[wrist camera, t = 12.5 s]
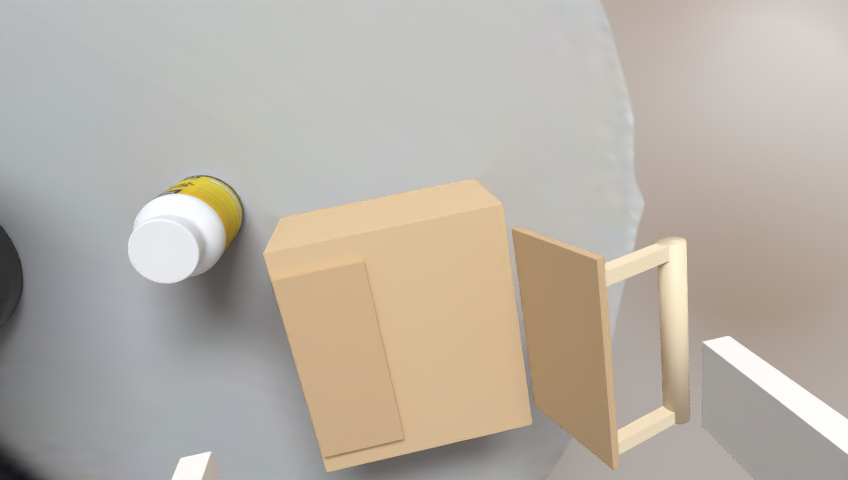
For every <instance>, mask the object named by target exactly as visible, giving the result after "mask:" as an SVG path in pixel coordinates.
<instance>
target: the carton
mask: <svg viewBox="0 0 848 480" xmlns="http://www.w3.org/2000/svg"><path fill="white" fill-rule="evenodd" d="M263 255H264V258H265V262H266V265H267V269H268V272H269V276H270V279H271V282H272V286H273V289H274V293H275V296H276V300H277V303H278V307H279V310H280V313H281V317H282V320H283V324H284V327H285V331H286V334H287V337H288V341H289V344H290V348H291V351H292V355H293V358H294V362H295V365H296V368H297V372H298V375H299V379H300V382H301V386H302V389H303V392H304V396H305V399H306V403H307V406H308V410H309V413H310V417H311V420H312V423H313V427H314V430H315V434H316V437H317V441H318V444H319V447H320V451H321V454H322V458H323V461H324V465H325V468H326V472H331V471H335V470H339V469H344V468H348V467H352V466H356V465H361V464H365V463H369V462H374V461H378V460H382V459H386V458H391V457H395V456H399V455H404V454H408V453H412V452H416V451H421V450H425V449H429V448H434V447H438V446H442V445H446V444H451V443H455V442H459V441H464V440H468V439H472V438H476V437H481V436H485V435H489V434H494V433H498V432H502V431H506V430H511V429H515V428H519V427H524V426H528V425H532V417H531V410H530V403H529V395H528V388H527V380H526V373H525V365H524V358H523V350H522V343H521V336H520V328H519V321H518V313H517V306H516V298H515V291H514V283H513V276H512V268H511V261H510V254H509V246H508V239H507V231H506V224H505V216H504V209H503V204H502V203H501V202H500V201H499V200H498V199H497V198H496V197H495V196H493V195H492V194H491V193H490V192H489V191H488V190H487V189H486V188H485V187H484V186H482V185H481V184H480V183H479V182H478V181H477V180H476V179H475V178H474V179H469V180H464V181H459V182H454V183H449V184H444V185H439V186H434V187H429V188H424V189H419V190H414V191H410V192H405V193H400V194H395V195H390V196H385V197H380V198H375V199H370V200H365V201H360V202H355V203H350V204H345V205H340V206H336V207H331V208H326V209H321V210H316V211H311V212H306V213H301V214H296V215H291V216H286V217H281V218H280V220H279V222H278V224H277V226H276V228H275V230H274V232H273V234H272V236H271V238H270V240H269V242H268V244H267V247H266V249H265V251H264V253H263Z"/></svg>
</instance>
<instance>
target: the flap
mask: <svg viewBox="0 0 848 480" xmlns="http://www.w3.org/2000/svg"><path fill="white" fill-rule="evenodd" d="M512 235H513V242H514V250H515V258H516V265H517V273H518V281H519V288H520V296H521V304H522V311H523V319H524V326H525V334H526V342H527V349H528V357H529V365H530V372H531V380H532V388H533V395H534V403H535V406H536V407H537V408H539V409H540V410H541V411H542V412H543V413H545V414H546V415H547V416H548V417H549V418H551V419H552V420H553V421H554V422H556V423H557V424H558V425H559V426H560V427H562V428H563V429H564V430H565V431H567V432H568V433H569V434H570V435H571V436H573V437H574V438H575V439H576V440H577V441H579V442H580V443H581V444H582V445H584V446H585V447H586V448H587V449H589V450H590V451H591V452H592V453H593V454H595V455H596V456H597V457H598V458H599V459H601V460H602V461H603V462H604V463H606V464H607V465H608V466H609V467H610V468H612V469H613V470H614V469H616V468H618V467H620V460H619V455H620V454H621V453H623V452H625V451H627V450H629V449H630V448H632V447H634V446H636V445H638V444H639V443H641V442H643V441H645V440H647V439H648V438H650V437H652V436H654V435H655V434H657V433H659V432H661V431H663V430H665V429H666V428H668V427H670V426H672V425H673V424H684V423H687V422H688V421H689V420H690V390H689V343H688V297H687V252H686V240H685V239H683V238H680V237H664V238H661V239H659V240H657V243H656V244H654V245H651V246H648V247H646V248H643V249H641V250H638V251H635V252H633V253H630V254H628V255H625V256H623V257H620V258H617V259H615V260H612V261H610V262H607V263H605V258H604V257H603V256H601V255H598V254H595V253H592V252H589V251H586V250H583V249H581V248H578V247H575V246H572V245H569V244H566V243H563V242H561V241H558V240H555V239H552V238H549V237H546V236H544V235H541V234H538V233H535V232H532V231H529V230H526V229H524V228H521V227H516V228H513V229H512ZM656 266H658V289H659V315H660V339H661V364H662V389H663V406H662V407H660V408H658V409H656V410H654V411H653V412H651V413H649V414H647V415H645V416H643V417H641V418H640V419H638V420H636V421H634V422H632V423H630V424H628V425H626V426H625V427H623V428H621V429H619V430H617V419H616V407H615V392H614V379H613V365H612V352H611V338H610V325H609V312H608V298H607V286H609V285H612V284H614V283H616V282H619V281H621V280H624V279H626V278H629V277H631V276H634V275H636V274H638V273H641V272H643V271H646V270H648V269H651V268H653V267H656Z"/></svg>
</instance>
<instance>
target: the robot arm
mask: <svg viewBox="0 0 848 480" xmlns="http://www.w3.org/2000/svg"><path fill="white" fill-rule="evenodd" d="M21 288H22V272H21V266H20V261H19V258H18V255H17V252H16V250H15V248H14V246H13V244H12V242H11V240H10V238H9V237H8V235H7V234H6V232H5V231H4V230H3V228H2V227H1V226H0V327H1V326H2V325H3V324H4V323H5V322H6V321H7V320H8V318H9V317H10V316H11V314H12V313H13V311H14V309H15V308H16V305H17V303H18V301H19V297H20V293H21ZM702 427H703V428H704V429H705V430H706V431H707V432H708V433H709V434H710V435H711V436H712V437H713V438H714V439H715V440H716V441H718V443H719V444H720V445H721V446H722V447H723V448H724V449H725V450H726V451H727V452H728V453H729V454H730V455H731V456H732V457H733V458H734V459H735V460H736V461H737V462H738V463H739V464H740V465H741V466H742V467H743V468H744V469H745V470H746V471H747V472H748V473H749V474H750V475H751V476H752V477H753V478H754V479H755V480H848V419H846V418H845V417H843V416H842V415H841V414H839V413H838V412H836V411H835V410H833V409H832V408H830V407H829V406H828V405H826V404H825V403H823V402H822V401H820V400H819V399H818V398H816V397H815V396H814V395H812V394H811V393H809V392H808V391H806V390H805V389H804V388H802V387H801V386H799V385H798V384H796V383H795V382H794V381H792V380H791V379H789V378H788V377H786V376H785V375H784V374H782V373H781V372H779V371H778V370H777V369H775V368H774V367H772V366H771V365H769V364H768V363H767V362H765V361H764V360H762V359H761V358H760V357H758V356H757V355H755V354H754V353H752V352H751V351H750V350H748V349H746V348H745V347H744V346H742V345H741V344H739V343H738V342H737V341H735V340H734V339H733V338H731V337H730V336H726V337H722V338H718V339H713V340H708V341H704V342H702ZM172 480H221V477H220V474H219V471H218V468H217V465H216V463H215V460H214V457H213V454H212V451H211V452H206V453H202V454H197V455H193V456H188V457H184V458H180V461H179V463H178V466H177V468H176V470H175V473H174V475H173V477H172Z"/></svg>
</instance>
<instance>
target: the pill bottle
mask: <svg viewBox="0 0 848 480" xmlns="http://www.w3.org/2000/svg"><path fill="white" fill-rule="evenodd" d="M243 217H244V210H243V204H242V201H241V199H240V197H239V195H238V194H237V192H236V191H235V190H234V189H233V188H232V187H231V186H230V185H229V184H228V183H226V182H225V181H223V180H221V179H219V178H216V177H213V176H208V175H198V176H192V177H189V178H186V179H184V180H182V181H180V182H179V183H177V184H176V185H174V186H173V187H171V188H170V189H169V190H167V191H166V192H164V193H163V194H161V195H159V196H158V197H156V198H155V199H153V200H152V201H150V202H149V203H148V204H146V205H145V206H144V207H143V208H142V209H141V211H140V212H139V214H138V215H137V217H136V219H135V222H134V225H133V233H132V235H131V236H130V239H129V242H128V255H129V259H130V261H131V263H132V265H133V267H134V268H135V269H136V270H137V271H138V272H139V273H140V274H141V275H142V276H144V277H145V278H147V279H149V280H151V281H154V282H157V283H163V284H171V283H176V282H180V281H182V280H184V279H186V278H188V277H193V276H197V275H200V274H202V273H204V272H206V271H207V270H209V269H210V268H211V267H213V266H214V265H215V264H216V262H217V261H218V260H219V258H220V257H221V256H222V254H223V253H224V251H225V250H226V248H227V247H228V246H229V244H230V243H231V241H232V240H233V238H234V237H235V235H236V234H237V233H238V231H239V230H240V228H241V225H242V222H243Z"/></svg>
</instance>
